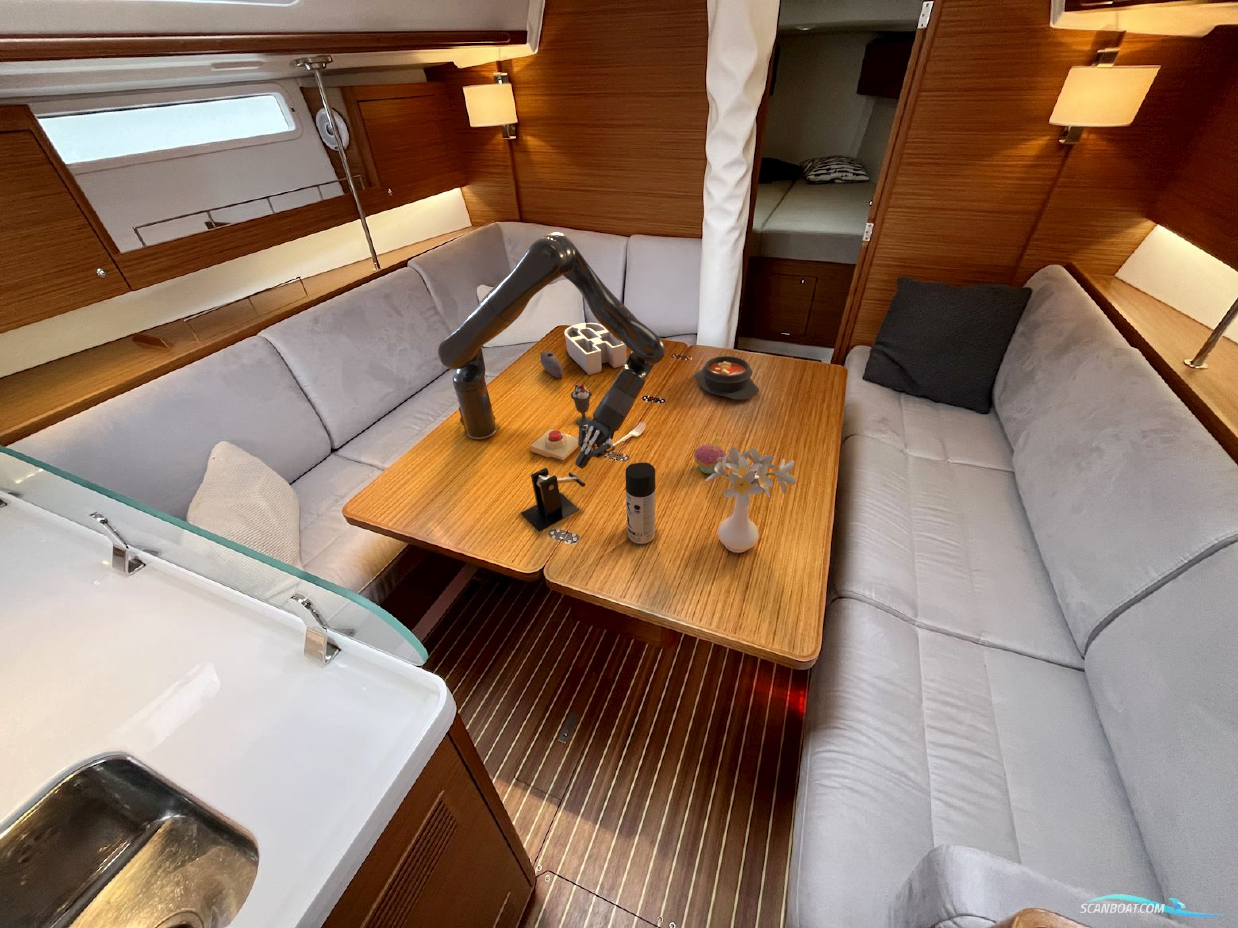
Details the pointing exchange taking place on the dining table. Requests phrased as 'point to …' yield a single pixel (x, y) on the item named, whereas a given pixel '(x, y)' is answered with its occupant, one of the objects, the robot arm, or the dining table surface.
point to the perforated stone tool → (551, 364)
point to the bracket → (548, 503)
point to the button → (555, 436)
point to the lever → (562, 479)
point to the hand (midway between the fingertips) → (578, 466)
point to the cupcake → (708, 456)
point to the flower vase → (746, 494)
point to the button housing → (555, 446)
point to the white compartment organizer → (594, 347)
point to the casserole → (727, 378)
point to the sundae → (582, 402)
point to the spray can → (640, 502)
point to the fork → (633, 433)
